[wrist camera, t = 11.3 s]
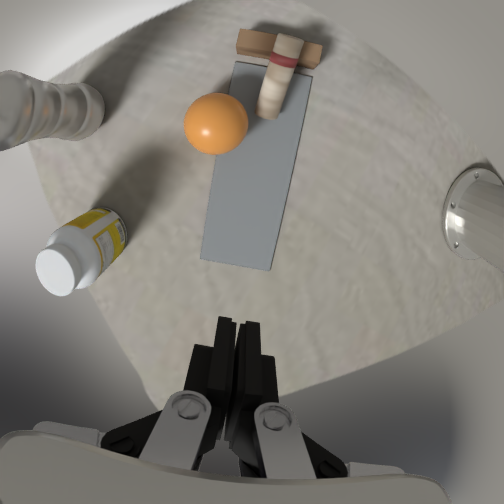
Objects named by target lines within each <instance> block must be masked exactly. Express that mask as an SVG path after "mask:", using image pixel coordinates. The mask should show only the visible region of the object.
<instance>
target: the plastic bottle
mask: <svg viewBox="0 0 504 504" xmlns="http://www.w3.org/2000/svg"><path fill="white" fill-rule="evenodd" d="M104 113H105V105H104V100H103V97H102V95H101V94H100V93H99V92H98V91H97V90H96V89H95V88H93V87H92V86H90V85H88V84H85V83H71V84H53V83H49V82H45V81H41V80H38V79H35V78H33V77H31V76H28V75H25V74H23V73H20V72H16V71H12V70H8V71H3V72H0V151H4V150H7V149H10V148H12V147H15V146H18V145H20V144H23V143H25V142H28V141H32V140H37V139H41V138H59V139H62V140H69V141H78V140H81V139H84V138H86V137H88V136H90V135H92V134H93V133H94V132H95V131H96V130H97V129H98V128H99V126H100V125H101V123H102V120H103V118H104Z"/></svg>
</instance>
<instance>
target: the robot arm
mask: <svg viewBox="0 0 504 504" xmlns="http://www.w3.org/2000/svg"><path fill="white" fill-rule="evenodd" d="M442 224H443V232H444V236H445V240H446V242H447V244H448V246H449V247H450V249H451V250H452V251H453V252H454V253H455V254H456V255H458V256H459V257H461V258H463V259H467V260H475V259H478V258H483V259H484V260H486V261H487V262H489V263H490V264H491V265H493V266H494V267H496V268H497V269H499V270H500V271H501V272H503V273H504V186H503V184H502V182H501V180H500V179H499V177H498V176H497V175H496V174H495V173H493V172H492V171H490V170H487V169H484V168H472V169H469V170H467V171H465V172H464V173H462V174H461V175H460V176H459V177H458V178H457V179H456V180H455V182H454V183H453V185H452V186H451V188H450V190H449V193H448V195H447V198H446V201H445V204H444V209H443V220H442ZM235 337H236V323H235V322H232V318H227V317H221V316H219V317H218V323H217V329H216V335H215V341H214V347H209V346H204V345H198V344H195V345H194V348H193V352H192V356H191V360H190V365H189V369H188V373H187V377H186V381H185V385H184V390H183V391H179V392H176V393H174V394H173V395H171V396H170V398H169V399H168V401H167V403H166V405H165V407H164V409H163V410H161V411H158V412H156V413H154V414H151V415H149V416H146V417H144V418H142V419H139V420H137V421H134V422H132V423H129V424H126V425H124V426H121V427H118V428H116V429H113V430H111V431H109V432H107V433H100V432H98V430H96V429H89V428H83V427H76V426H70V425H65V424H59V423H54V422H46V421H44V422H41V423H38V424H37V425H36V426H35V427H34V429H33V431H27V430H24V431H15V432H10V433H8V434H6V435H5V436H3V437H2V438H1V439H0V504H452V501H451V499H450V498H449V496H448V494H447V492H446V491H445V489H444V488H443V487H442V485H441V484H440V483H438V482H437V481H435V480H433V479H431V478H428V477H424V476H419V475H413V474H405V473H404V471H403V470H401V469H400V468H398V467H394V466H383V465H372V464H363V463H355V462H350V463H349V464H344V463H343V462H342V461H341V460H340V459H339V458H337V457H336V456H334V455H333V454H332V453H330V452H329V451H327V450H326V449H324V448H323V447H322V446H320V445H319V444H317V443H316V442H315V441H313V440H312V439H310V438H309V437H308V436H306V435H305V434H304V433H302V432H301V430H300V427H299V425H298V421H297V418H296V416H295V414H294V412H293V411H292V410H291V409H290V408H288V407H287V406H285V405H283V404H280V403H279V399H278V388H277V377H276V367H275V358H274V356H268V355H261V339H260V323H258V322H251V321H246V323H245V324H240V328H239V332H238V337H237V341H236V346H235ZM225 417H226V424H225V437H224V440H225V441H229V449H232V451H233V452H234V453H235V454H236V455H237V456H238V457H239V460H238V463H239V469H240V475H241V477H238V476H228V475H220V474H212V473H205V472H199V471H198V470H199V468H200V465H201V462H202V459H203V454H205V453H207V452H208V451H210V450H212V449H213V448H214V446H215V442H216V440H220V438H221V434H222V430H223V426H224V421H225Z"/></svg>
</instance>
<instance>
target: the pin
mask: <svg viewBox="0 0 504 504" xmlns="http://www.w3.org/2000/svg"><path fill="white" fill-rule="evenodd" d="M303 44H304V40H302V39H300V38H297V37H294V36H291V35H287V34H283V33H278V35H277V38H276V42H275V45H274V48H273V50H272V52H271V56H270V59H269V60H270V61H269V64H268V67H267V70H266V74H265V77H264V80H263V84H262V87H261V90H260V94H259V97H258V100H257V104H256V107H255V111H254V112H255V114H256V115H258V116H259V117H262V118H264V119H269V120H275V119H277V118H278V115H279V113H280V110H281V107H282V104H283V101H284V98H285V95H286V92H287V89H288V86H289V83H290V81H291V78H292V75H293V72H294V69H295V68H296V65H297V62H298V59H299V55H300V52H301V49H302V46H303Z"/></svg>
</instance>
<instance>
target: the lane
mask: <svg viewBox="0 0 504 504" xmlns="http://www.w3.org/2000/svg"><path fill="white" fill-rule="evenodd" d="M266 70H267V67H263V66H257V65H252V64H246V63H239V62H235V66H234V70H233V75H232V79H231V84H230V89H229V93H228V95H230V96H232V97H234V98H235V99H237V100H238V101H239V102H240V103H241V104H242V105H243V107H244V109H245V110H246V113H247V116H248V130H247V133H246V136H245V138H244V139H243V141H242V142H241V143H240V145H239V146H237V147H236V148H235V149H233V150H232V151H230V152H227V153H224V154H219V155H216V160H215V166H214V172H213V178H212V184H211V189H210V196H209V202H208V208H207V214H206V221H205V228H204V234H203V241H202V248H201V255H200V259H203V260H208V261H214V262H219V263H225V264H230V265H236V266H241V267H247V268H253V269H259V270H264V271H270V266H271V262H272V258H273V254H274V250H275V245H276V241H277V237H278V232H279V228H280V224H281V219H282V215H283V210H284V206H285V202H286V197H287V193H288V188H289V184H290V179H291V175H292V170H293V165H294V161H295V156H296V152H297V147H298V142H299V138H300V133H301V128H302V123H303V119H304V114H305V109H306V104H307V99H308V94H309V90H310V85H311V80H312V77H308V76H304V75H300V74H296V73H293V75H292V78H291V81H290V83H289V86H288V89H287V92H286V95H285V98H284V101H283V104H282V107H281V110H280V113H279V115H278V118H277V119H275V120H269V119H264V118H262V117H259V116H258V115H256V114H255V112H254V111H255V107H256V104H257V100H258V97H259V94H260V90H261V87H262V84H263V80H264V77H265V74H266Z"/></svg>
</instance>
